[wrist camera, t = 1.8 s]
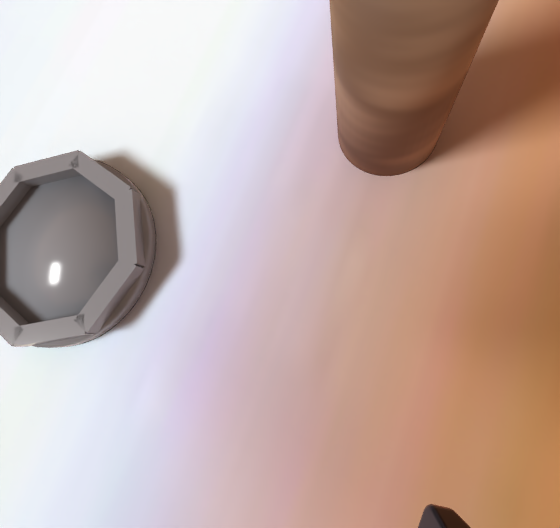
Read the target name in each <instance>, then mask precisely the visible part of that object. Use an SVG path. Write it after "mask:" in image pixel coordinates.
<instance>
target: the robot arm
mask: <svg viewBox="0 0 560 528" xmlns="http://www.w3.org/2000/svg"><path fill="white" fill-rule="evenodd" d="M418 528H470V527H469V526H468V525H467V524H466V523H465V521H464V520H463V519H462V518H461V517H460V516H459V515H458V514H457V513H456V512H455V511H453V510H452V509H450V508H447V507H442V506H438V505H434V504H430V505H427V506H426V507H425V509H424V512H423V515H422V518H421V520H420V523H419V526H418Z"/></svg>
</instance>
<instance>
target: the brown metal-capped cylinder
mask: <svg viewBox="0 0 560 528" xmlns="http://www.w3.org/2000/svg"><path fill="white" fill-rule="evenodd" d="M497 3H498V0H330V14H331V30H332V46H333V62H334V78H335V94H336V110H337V126H338V138H339V144H340V147H341V149H342V151H343V153H344V155H345V156H346V158H347V159H348V160H349V161H350V162H351V163H352V164H353V165H354V166H356V167H357V168H359V169H360V170H362V171H365V172H367V173H370V174H374V175H380V176H392V175H398V174H402V173H405V172H408V171H410V170H412V169H414V168H416V167H417V166H419V165H420V164H422V163H423V162H424V161H425V160H426V159H427V158H428V157H429V155H430V154H431V153H432V151H433V149H434V148H435V146H436V143H437V141H438V139H439V136H440V134H441V132H442V129H443V127H444V125H445V122H446V120H447V118H448V116H449V113H450V111H451V109H452V106H453V104H454V102H455V99H456V97H457V95H458V93H459V90H460V88H461V86H462V83H463V81H464V79H465V76H466V74H467V72H468V69H469V67H470V65H471V63H472V60H473V58H474V56H475V53H476V51H477V49H478V46H479V44H480V42H481V40H482V37H483V35H484V33H485V30H486V28H487V26H488V23H489V21H490V19H491V16H492V14H493V12H494V10H495V7H496V5H497Z"/></svg>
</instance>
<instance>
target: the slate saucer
mask: <svg viewBox="0 0 560 528" xmlns="http://www.w3.org/2000/svg"><path fill="white" fill-rule="evenodd" d="M155 248H156V232H155V226H154V220H153V217H152V213H151V210H150V208H149V205H148V203H147V201H146V199H145V198H144V196H143V194H142V193H141V191H140V190H139V189H138V188H137V187H136V185H135V184H134V183H133V182H132V181H130V180H129V179H128V178H127V177H126V176H124V175H123V174H121V173H120V172H119V171H117V170H116V169H114V168H112V167H111V166H109V165H107V164H104V163H102V162H100V161H96V160H93V159H91V158H90V157H88V156H87V155H86V154H84V153H83V152H81V151H78V150H77V151H73V152H70V153H66V154H62V155H58V156H54V157H50V158H46V159H42V160H38V161H34V162H31V163H27V164H23V165H19V166H15V167H14V169H13V168H12V169H11V170H10V172H9V173H8V174H7V176H6V177H5V178H4V180H3V181H2V182H1V183H0V335H1V336H2V337H3V338H4V339H5V340H6V341H7V342H8V343H9V344H10V345H11V346H14V347H26V346H35V347H48V348H51V347H68V346H74V345H78V344H82V343H85V342H88V341H90V340H93V339H95V338H97V337H99V336H100V335H102V334H104V333H106V332H107V331H108V330H110V329H111V328H113V327H114V326H115V325H116V324H118V323H119V322H120V321H121V320H122V319H123V318H124V317H125V316H126V315H127V314H128V312H129V311H130V310H131V309H132V307H133V306H134V305H135V303H136V302H137V300H138V299H139V297H140V296H141V294H142V292H143V290H144V288H145V286H146V284H147V282H148V279H149V276H150V273H151V270H152V266H153V262H154V258H155Z"/></svg>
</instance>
